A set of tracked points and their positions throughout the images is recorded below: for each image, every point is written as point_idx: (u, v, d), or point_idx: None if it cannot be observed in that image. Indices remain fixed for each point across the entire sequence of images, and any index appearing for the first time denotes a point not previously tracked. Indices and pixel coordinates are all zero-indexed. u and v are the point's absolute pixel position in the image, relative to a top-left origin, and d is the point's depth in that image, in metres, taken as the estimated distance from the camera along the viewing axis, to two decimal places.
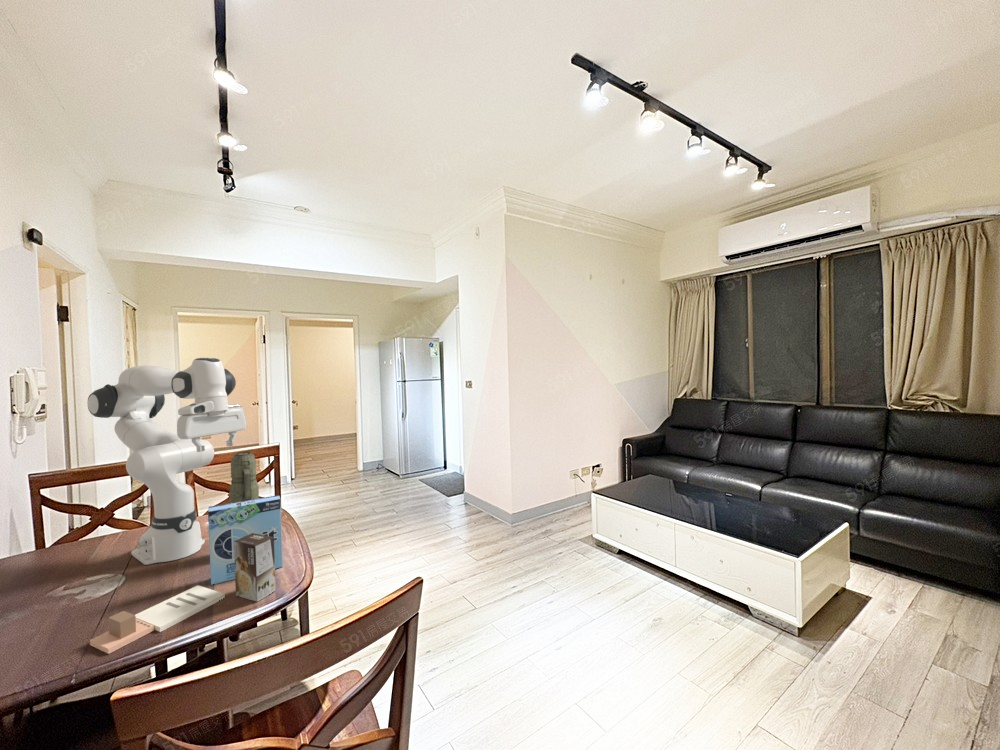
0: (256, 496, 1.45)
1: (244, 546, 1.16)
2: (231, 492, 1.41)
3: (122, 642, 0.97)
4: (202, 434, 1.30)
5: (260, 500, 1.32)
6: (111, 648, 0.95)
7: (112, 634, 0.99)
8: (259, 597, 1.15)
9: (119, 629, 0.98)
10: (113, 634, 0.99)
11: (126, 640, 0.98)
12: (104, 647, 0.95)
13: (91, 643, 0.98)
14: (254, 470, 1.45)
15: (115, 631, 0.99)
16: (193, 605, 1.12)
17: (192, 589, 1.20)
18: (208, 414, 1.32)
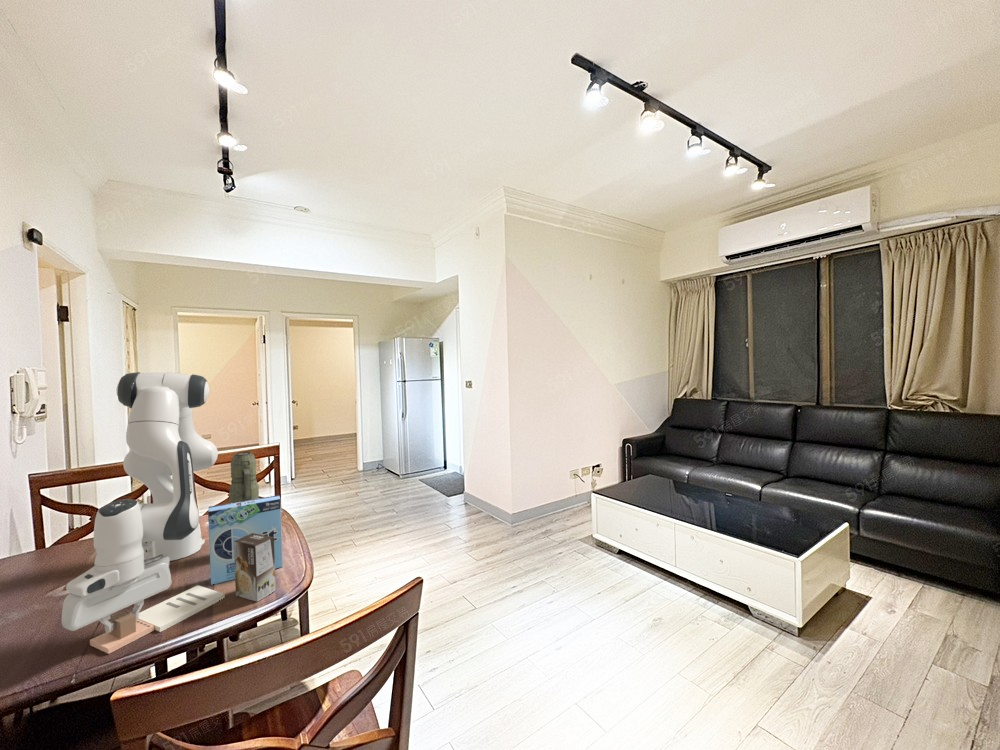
0: (256, 496, 1.45)
1: (244, 546, 1.16)
2: (231, 492, 1.41)
3: (122, 642, 0.97)
4: (100, 617, 0.95)
5: (260, 500, 1.32)
6: (111, 648, 0.95)
7: (112, 634, 0.99)
8: (259, 597, 1.15)
9: (119, 629, 0.98)
10: (113, 634, 0.99)
11: (126, 640, 0.98)
12: (104, 647, 0.95)
13: (91, 643, 0.98)
14: (254, 470, 1.45)
15: (115, 631, 0.99)
16: (193, 605, 1.12)
17: (192, 589, 1.20)
18: (111, 586, 0.97)
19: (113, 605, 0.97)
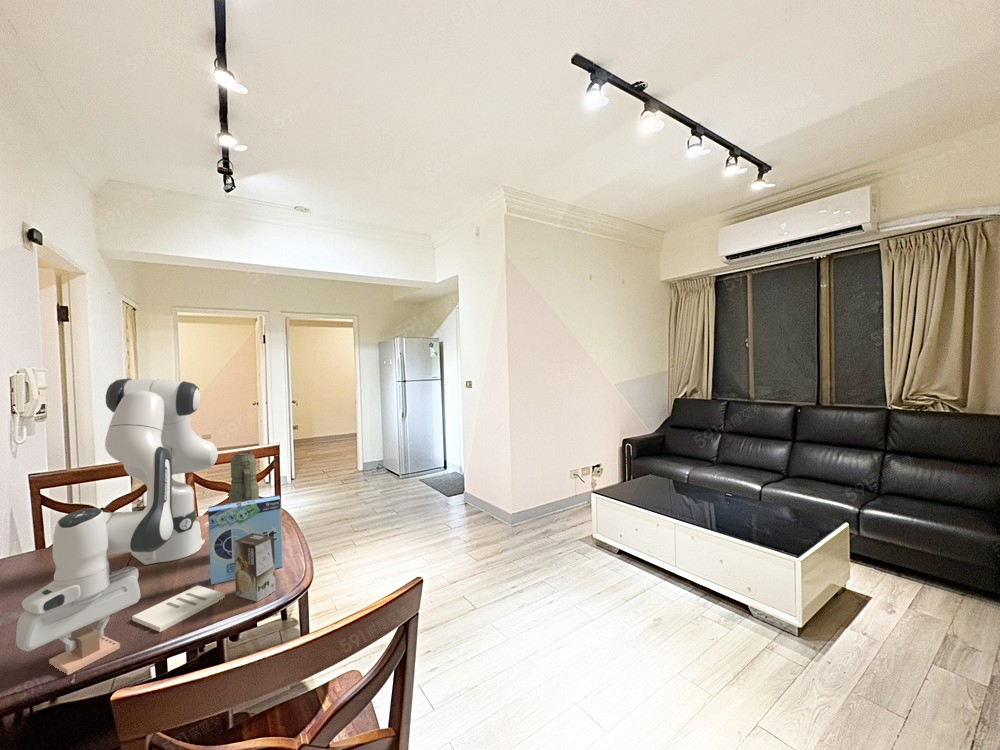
0: (256, 496, 1.45)
1: (244, 546, 1.16)
2: (231, 492, 1.41)
3: (83, 662, 0.91)
4: (58, 635, 0.89)
5: (260, 500, 1.32)
6: (71, 669, 0.89)
7: (74, 653, 0.93)
8: (259, 597, 1.15)
9: (81, 648, 0.92)
10: (75, 653, 0.93)
11: (88, 659, 0.91)
12: (63, 667, 0.89)
13: (50, 663, 0.91)
14: (254, 470, 1.45)
15: (77, 650, 0.92)
16: (193, 605, 1.12)
17: (192, 589, 1.20)
18: (72, 602, 0.90)
19: (74, 622, 0.91)
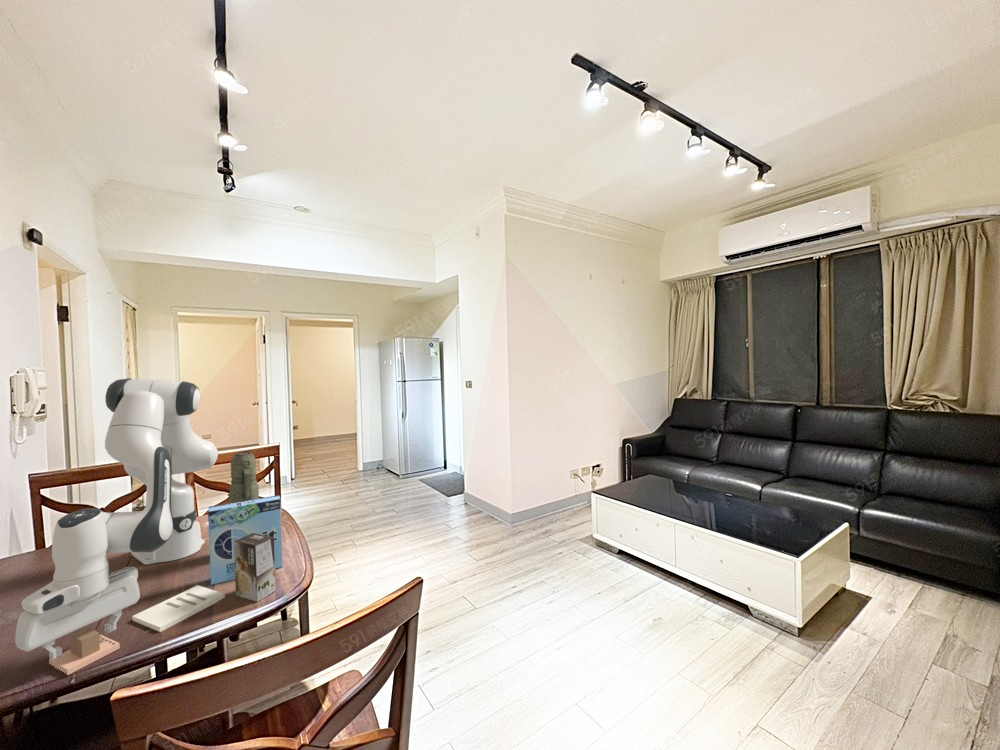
0: (256, 496, 1.45)
1: (244, 546, 1.16)
2: (231, 492, 1.41)
3: (83, 662, 0.91)
4: (58, 635, 0.88)
5: (260, 500, 1.32)
6: (71, 669, 0.89)
7: (74, 653, 0.93)
8: (259, 597, 1.15)
9: (80, 648, 0.92)
10: (75, 653, 0.93)
11: (88, 660, 0.91)
12: (63, 668, 0.89)
13: (50, 663, 0.91)
14: (254, 470, 1.45)
15: (76, 650, 0.92)
16: (193, 605, 1.12)
17: (192, 589, 1.20)
18: (71, 602, 0.90)
19: (73, 622, 0.91)
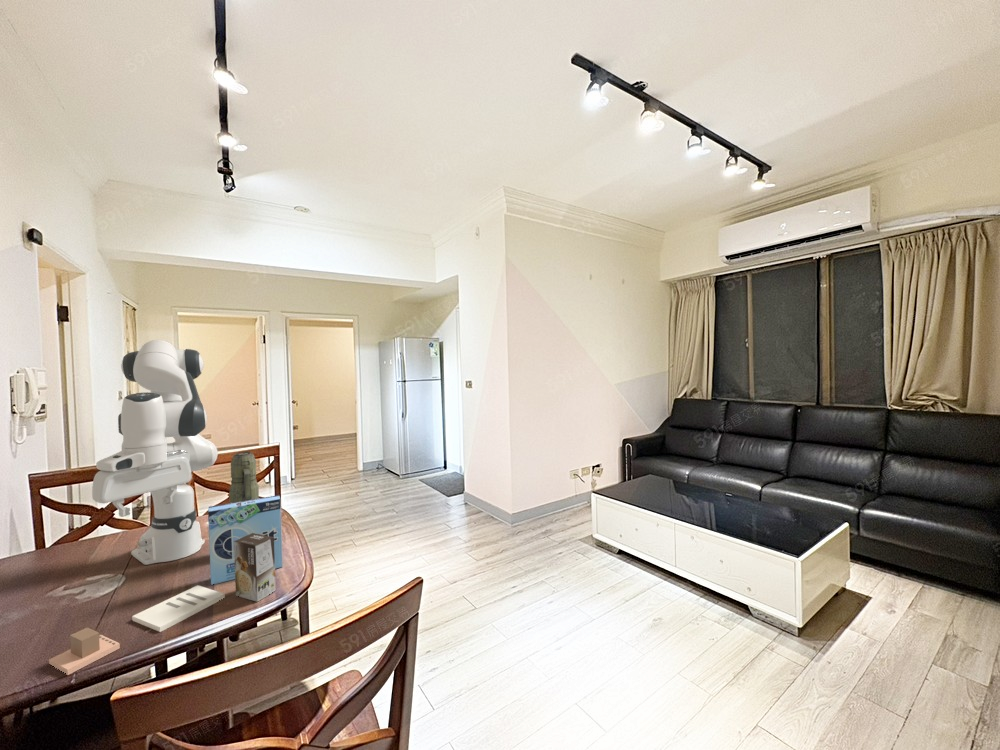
0: (256, 496, 1.45)
1: (244, 546, 1.16)
2: (231, 492, 1.41)
3: (83, 662, 0.91)
4: (127, 495, 1.01)
5: (260, 500, 1.32)
6: (71, 669, 0.89)
7: (74, 653, 0.93)
8: (259, 597, 1.15)
9: (80, 648, 0.92)
10: (75, 653, 0.93)
11: (88, 660, 0.91)
12: (63, 668, 0.89)
13: (50, 663, 0.91)
14: (254, 470, 1.45)
15: (76, 650, 0.92)
16: (193, 605, 1.12)
17: (192, 589, 1.20)
18: (137, 468, 1.03)
19: (139, 487, 1.03)
